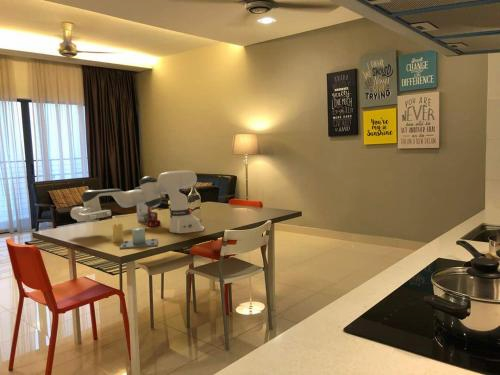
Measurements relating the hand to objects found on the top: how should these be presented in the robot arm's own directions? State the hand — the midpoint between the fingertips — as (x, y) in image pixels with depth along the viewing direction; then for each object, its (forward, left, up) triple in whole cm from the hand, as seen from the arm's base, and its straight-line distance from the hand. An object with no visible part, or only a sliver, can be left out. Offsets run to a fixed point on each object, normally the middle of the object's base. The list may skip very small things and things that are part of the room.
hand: (102, 215), depth 247 cm
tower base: (-22, +21, -14) cm, 34 cm away
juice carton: (-21, -54, -15) cm, 60 cm away
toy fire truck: (-28, -31, -15) cm, 44 cm away
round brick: (-9, +8, -14) cm, 19 cm away
